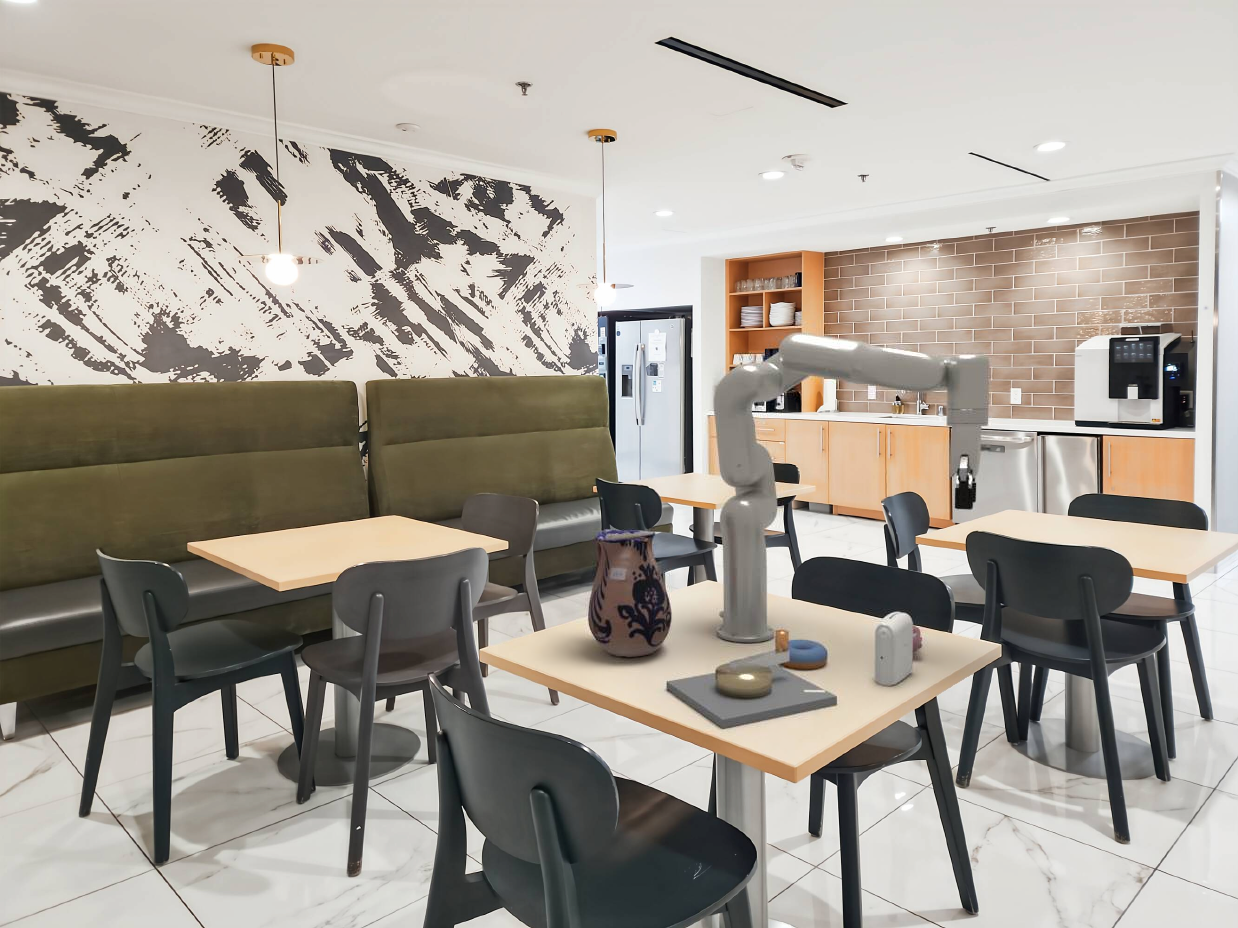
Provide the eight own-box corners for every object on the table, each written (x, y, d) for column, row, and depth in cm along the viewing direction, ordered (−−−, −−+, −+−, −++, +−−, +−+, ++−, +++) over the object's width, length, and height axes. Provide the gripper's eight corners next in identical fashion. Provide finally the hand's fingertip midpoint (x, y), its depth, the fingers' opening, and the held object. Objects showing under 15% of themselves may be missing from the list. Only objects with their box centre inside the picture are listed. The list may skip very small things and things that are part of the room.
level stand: (666, 689, 158) (666, 680, 158) (771, 670, 167) (771, 661, 167) (722, 728, 140) (722, 718, 140) (836, 704, 149) (837, 694, 149)
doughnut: (796, 673, 165) (797, 649, 165) (766, 661, 174) (767, 638, 174) (837, 670, 169) (838, 647, 169) (806, 658, 178) (807, 636, 178)
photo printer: (893, 687, 157) (894, 621, 155) (871, 683, 159) (872, 618, 158) (915, 672, 164) (916, 609, 163) (893, 668, 167) (894, 606, 166)
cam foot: (741, 702, 146) (741, 653, 146) (704, 685, 155) (703, 639, 154) (806, 682, 155) (806, 636, 154) (767, 667, 163) (767, 624, 163)
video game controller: (911, 669, 171) (929, 639, 170) (890, 658, 172) (907, 628, 170) (905, 653, 181) (921, 625, 180) (885, 643, 181) (901, 614, 180)
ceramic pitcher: (625, 671, 168) (623, 545, 166) (562, 646, 185) (559, 532, 182) (689, 652, 179) (688, 534, 177) (624, 630, 196) (622, 522, 193)
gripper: (950, 416, 176) (948, 498, 177) (942, 420, 160) (940, 511, 162) (990, 416, 173) (988, 500, 174) (986, 420, 157) (984, 512, 159)
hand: (965, 505), depth 168 cm, fingers open, 9 cm apart
